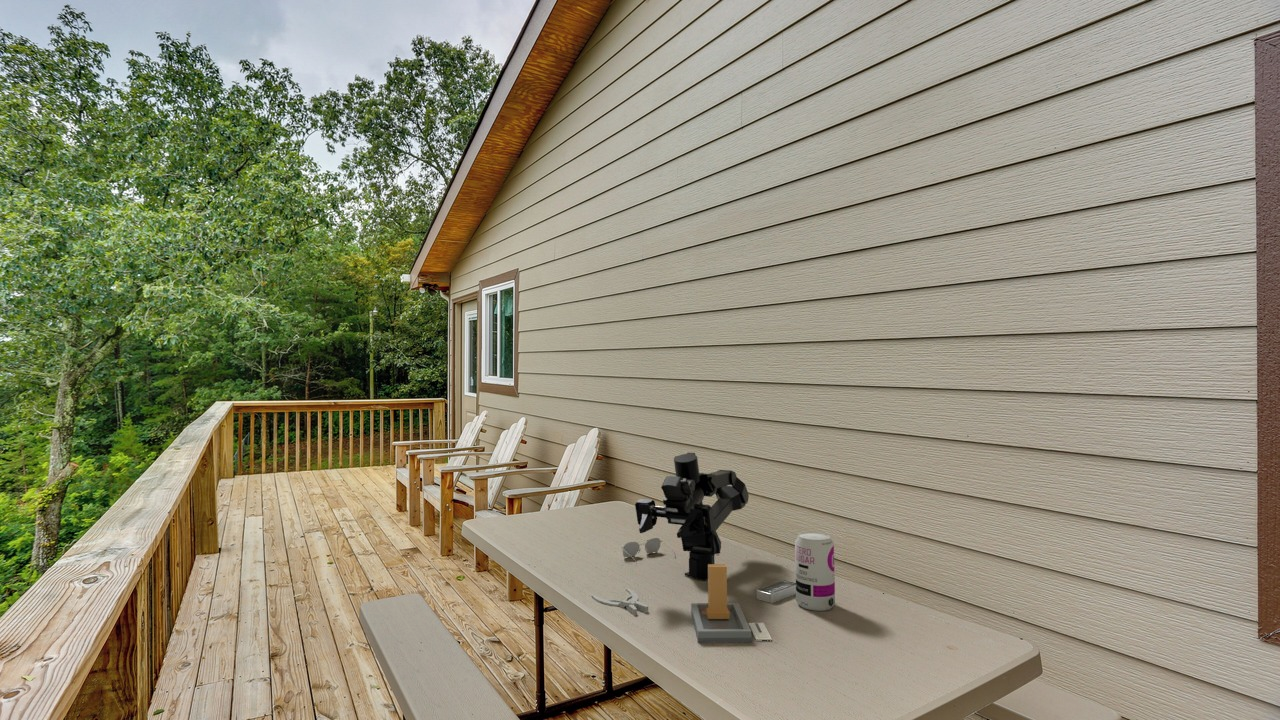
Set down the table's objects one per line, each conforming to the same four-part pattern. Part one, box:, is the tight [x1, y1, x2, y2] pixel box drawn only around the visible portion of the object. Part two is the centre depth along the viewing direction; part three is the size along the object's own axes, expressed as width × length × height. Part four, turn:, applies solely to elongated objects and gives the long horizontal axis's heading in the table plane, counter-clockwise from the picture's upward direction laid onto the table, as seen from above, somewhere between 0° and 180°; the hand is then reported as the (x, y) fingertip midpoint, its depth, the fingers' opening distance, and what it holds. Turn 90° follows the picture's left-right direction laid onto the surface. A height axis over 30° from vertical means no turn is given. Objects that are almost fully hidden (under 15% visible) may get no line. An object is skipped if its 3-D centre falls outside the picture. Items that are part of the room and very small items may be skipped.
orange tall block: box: [706, 563, 730, 619], centre depth 124 cm, size 3×4×10 cm
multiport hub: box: [756, 579, 796, 604], centre depth 140 cm, size 4×11×2 cm, turn 132°
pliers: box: [591, 588, 649, 616], centre depth 135 cm, size 10×2×15 cm
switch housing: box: [690, 602, 773, 643], centre depth 122 cm, size 15×14×2 cm
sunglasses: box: [621, 537, 677, 565], centre depth 170 cm, size 14×8×5 cm, turn 123°
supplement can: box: [794, 531, 836, 612], centre depth 134 cm, size 8×8×15 cm
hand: (658, 533), depth 134 cm, fingers open, 9 cm apart
